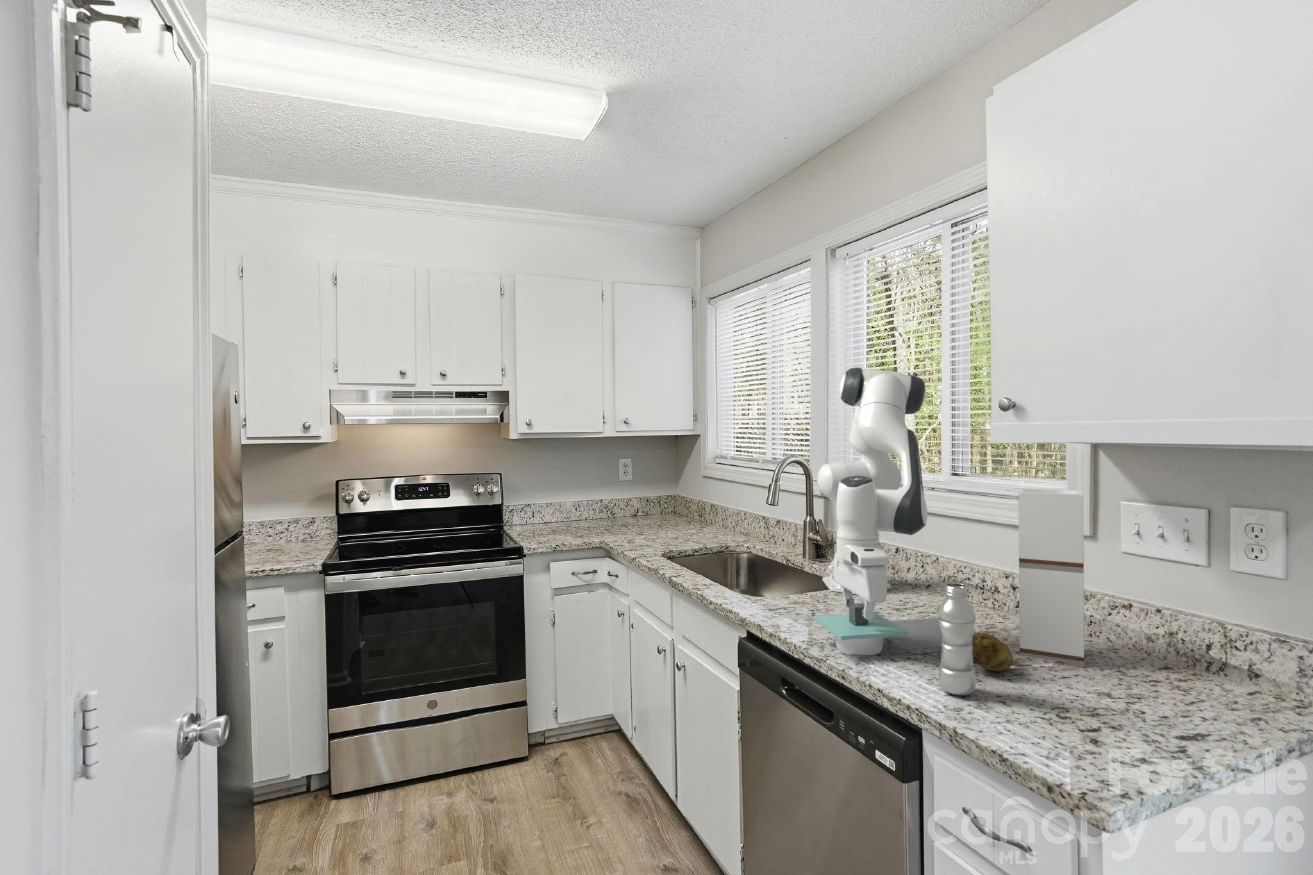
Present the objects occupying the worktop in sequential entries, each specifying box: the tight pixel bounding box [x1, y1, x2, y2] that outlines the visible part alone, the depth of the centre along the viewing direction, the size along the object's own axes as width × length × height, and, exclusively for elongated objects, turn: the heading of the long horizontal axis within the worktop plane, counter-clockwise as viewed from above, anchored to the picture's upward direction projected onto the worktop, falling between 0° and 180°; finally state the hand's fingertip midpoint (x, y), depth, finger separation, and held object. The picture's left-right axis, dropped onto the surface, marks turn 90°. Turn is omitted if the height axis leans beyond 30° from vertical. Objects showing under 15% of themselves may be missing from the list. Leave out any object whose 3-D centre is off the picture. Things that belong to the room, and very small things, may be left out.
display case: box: [1017, 487, 1086, 668], centre depth 141 cm, size 11×11×35 cm
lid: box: [812, 602, 908, 640], centre depth 146 cm, size 15×15×5 cm
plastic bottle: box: [937, 582, 977, 696], centre depth 122 cm, size 6×7×20 cm
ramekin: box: [834, 635, 885, 657], centre depth 146 cm, size 11×11×5 cm
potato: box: [972, 631, 1014, 672], centre depth 133 cm, size 8×13×8 cm, turn 116°
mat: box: [885, 617, 942, 651], centre depth 155 cm, size 20×20×1 cm
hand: (858, 612), depth 146 cm, fingers open, 8 cm apart
